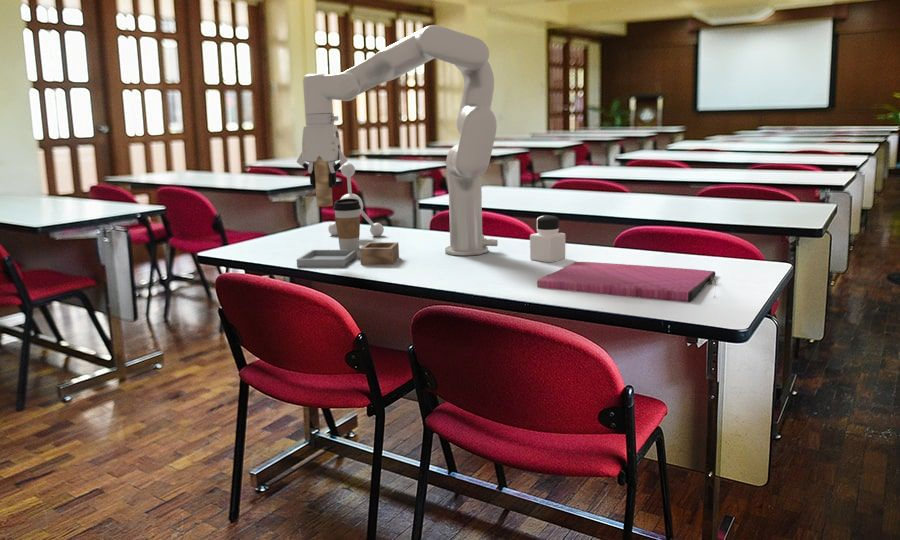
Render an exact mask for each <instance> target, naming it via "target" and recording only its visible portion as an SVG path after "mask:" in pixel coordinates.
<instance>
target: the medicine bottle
mask: <svg viewBox="0 0 900 540" xmlns="http://www.w3.org/2000/svg"><path fill="white" fill-rule="evenodd" d="M559 231H560V218H559V217H557V216H555V215H541V216H538V217H537V218H536V233H531V234H530V235H529V249H530V250H529V252H530V254H529V259H530V260H531V261H535V262H536V261H537V262H542V263H554V262H557V261H561V260H564V259H566V233H564V232H559Z"/></svg>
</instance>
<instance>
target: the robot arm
mask: <svg viewBox="0 0 900 540" xmlns="http://www.w3.org/2000/svg"><path fill="white" fill-rule="evenodd" d="M489 58H490V49H489V47H488V45H487V43H485V41H484V40H482V39H481V38H478V37H475V36H473V35H470V34H466V33H463V32H460V31H457V30H453V29H450V28H447V27H444V26H441V25H436V24H431V25H430V24H429V25H427V26H425V27H423V28H421V29H419V30H417V31H415V32H413V33H411V34H409V35H407V36H406V37H404V38H401V39H400V40H398V41H396V42H393V43H392V44H390V45H388V46H386V47H384V48H383V49H381V50H379V51H377V52H376V53H375V54H373V55H372V56H371V57H369V58H368V59H365V60H364V61H362V62H360V63H358V64H356V65H354V66H353V67H350V68H349V69H346V70H345V71H343V72H340V73H339V72H338V73H333V74H326V73H309V74H305V75H304V76H303V78H302V86H303V100H304V101H303V103H304V114H305V116H304V117H305V125H303V129H302V138H301V139H302V141H301V149H302V151H301V153H300V154H299V156H298V157H297V160H296V163H297V164H298V165H300V166H301V167H302V168H303V169H304V170H305V171H307V173H308V174H309V184H310V185H311V189H316V186H315V170H314V162H316V160H317V158H318V156H320V157H321V158H322V160H323V161H324V162H328V165H329V168H330V173H329V187H330V188H332V189H333V188H334V187H336V185H337V172H338V171H339V169H341V167H342V166H343V165H344V164H345V163H348V158H347V157H346V155H345V154H344V153H343V152H342V146H341V140H340V134H339V130H338V128H339V127H338V126H337V125H336V124H335V122H337V121H339V116H338V115H334V109H333V108H334V107H333V100H334V101H335V100H337V101H343V102H344V101H345V102H351V101H352V100H354V99H356V98H357V97H358V95H362V94H363V93H364V92H366V91H368V90H370V89H373V88H375V87H376V86H379V85H381V84H384V83H388V82H390V81H393V80H396V79H397V78H400V77H402V76H404V75H405V74H407V73H409V72H411V71H413V70H415V69H416V68H418V67H420V66H422V65H424V64H426V63H428V62H430V61H432V60H434V59H437V60H439V61H443V62H446V63H449V64H452V65H454V66H455V67H456V68H457V69H458V70H459V72H460V73H461V75H462V77H463V83H464V84H463V91H462V96H461V97H462V98H461V102H460V106H459V111H458V114H457V118H456V129H457V131H458V133H459V134H460V138H459V143H457V144H455V145H454V146H452V147H451V148H450V149H449V151H448V153H447V155H446V162H445V163H446V165H445V166H446V174H447V183H448V185H447V186H448V208H449V209H448V211H449V246H446V247H445V249H444V252H445V254H447V255H451V256H462V257H463V256H465V257H466V256H476V255H482V254H486V253H488V251H489V250H488V249H489V248H488V247H498V243H499V242H498V239H494V238H490V239H488V238H485V234H483V210H482V208H483V207H482V199H483V198H482V197H483V194H482V192H483V191H482V181H481V179H482V178H481V177H482V176H484V175H485V173H486V172H487V169H488V168H489V165H490V161H491V156H492V153H493V147H494V142H495V139H496V134H497V124H498V123H497V119H496V116H495V113H494V112H493V111H492V110H491V109H492V102H493V97H494V89H495V76H494V73H493V69H492V67H491V64H490V62H489ZM336 162H337V163H336Z"/></svg>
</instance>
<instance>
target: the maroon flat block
mask: <svg viewBox="0 0 900 540" xmlns="http://www.w3.org/2000/svg"><path fill="white" fill-rule="evenodd" d="M715 276H716V271H712V270H703V269H697V268H696V269H695V268H682V267H681V268H680V267H669V266H667V267H666V266H651V265H649V266H648V265H641V264H640V265H639V264H636V265H635V264H624V263H612V262H611V263H609V262H607V263H606V262H595V261H593V262H591V261H575V262H573V263H571V264H569V265H566V266H565V267H562V268H560V269H559V270H557V271H555V272H552V273H550V274H547V275H545V276H542V277H540V278H538V279H537V282H536V285H537V288H542V289H550V290H561V291H571V292H582V293H589V294H590V293H591V294H601V295H612V296H620V297H621V296H622V297H631V298H632V297H634V298H642V299H643V298H644V299H653V300H664V301H673V302H684V303H685V302H686V303H691V302H692V301H694V299H695V298H696V297H697V296H698V294H699V293H700V292H701V291H702V289H704V288H705V287H706V286H707V284H709V285H712V284H713V281H714V282H715V283H714V284H716V280H715V278H714V277H715ZM715 290H716V287H715ZM713 297H714V298H715V294H714V296H713Z"/></svg>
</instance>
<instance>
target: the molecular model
mask: <svg viewBox="0 0 900 540" xmlns="http://www.w3.org/2000/svg"><path fill="white" fill-rule="evenodd" d="M355 168H356V167H355V165H354V164H352V163H351V162H346V163H345V164H344V165H342V166H341V167H340V172H341V175H342V176H344V177H346V181H347V193H345V194H344V195H342V196H341V198H340V199H358V200H359V204H360V206H361V209H360V215H361V216H362V217H363V218H364V219H365V221H367V223H368V224H369V225H370V227H369V232H370V233H371V235H372V236H374V237H380V236H382V235H383V234H384V225H382V224H381V223H380V222H375V223H374V222H373V220H371V218H370V217H369V216H368V215H367V214H366V213H365V211H364V210H363V209H364V203H363V200H362V198H361V196H359V195H357V194H355V193H353V190H352V179H351V177H353V176H354V175H355V173H356V169H355ZM327 229H328V233H329V234H330V235H331V236H338V233H337V227H336V221H334V222H332V223H330V224H329V225H328V228H327Z"/></svg>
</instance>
